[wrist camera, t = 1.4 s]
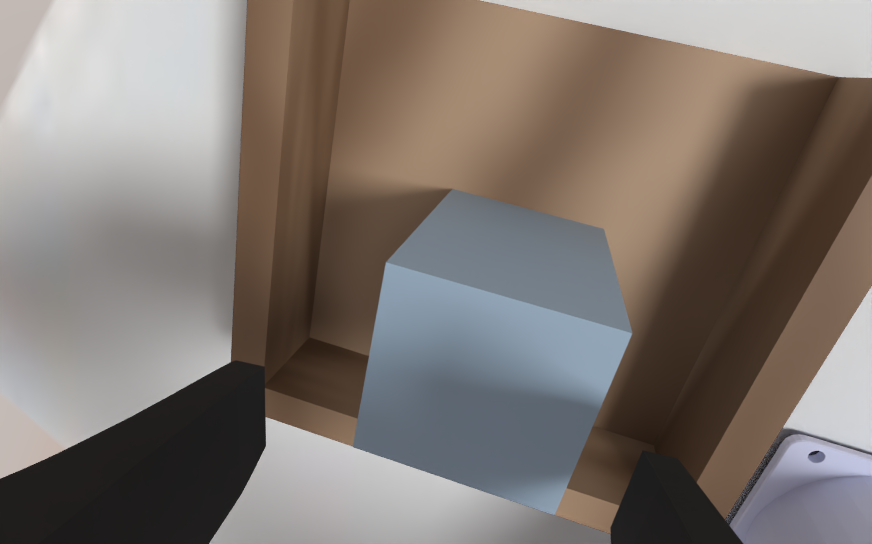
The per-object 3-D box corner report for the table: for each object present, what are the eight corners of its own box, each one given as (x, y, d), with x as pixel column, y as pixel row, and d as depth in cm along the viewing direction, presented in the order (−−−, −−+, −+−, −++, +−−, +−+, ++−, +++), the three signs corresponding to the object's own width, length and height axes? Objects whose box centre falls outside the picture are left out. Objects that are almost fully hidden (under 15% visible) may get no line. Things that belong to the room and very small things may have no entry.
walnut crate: (866, 86, 14) (992, 93, 10) (669, 461, 20) (697, 563, 16) (329, -29, 16) (250, -63, 12) (291, 341, 22) (228, 404, 18)
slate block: (603, 228, 16) (632, 333, 10) (556, 358, 18) (554, 515, 12) (452, 188, 17) (386, 262, 10) (423, 318, 19) (352, 447, 12)
